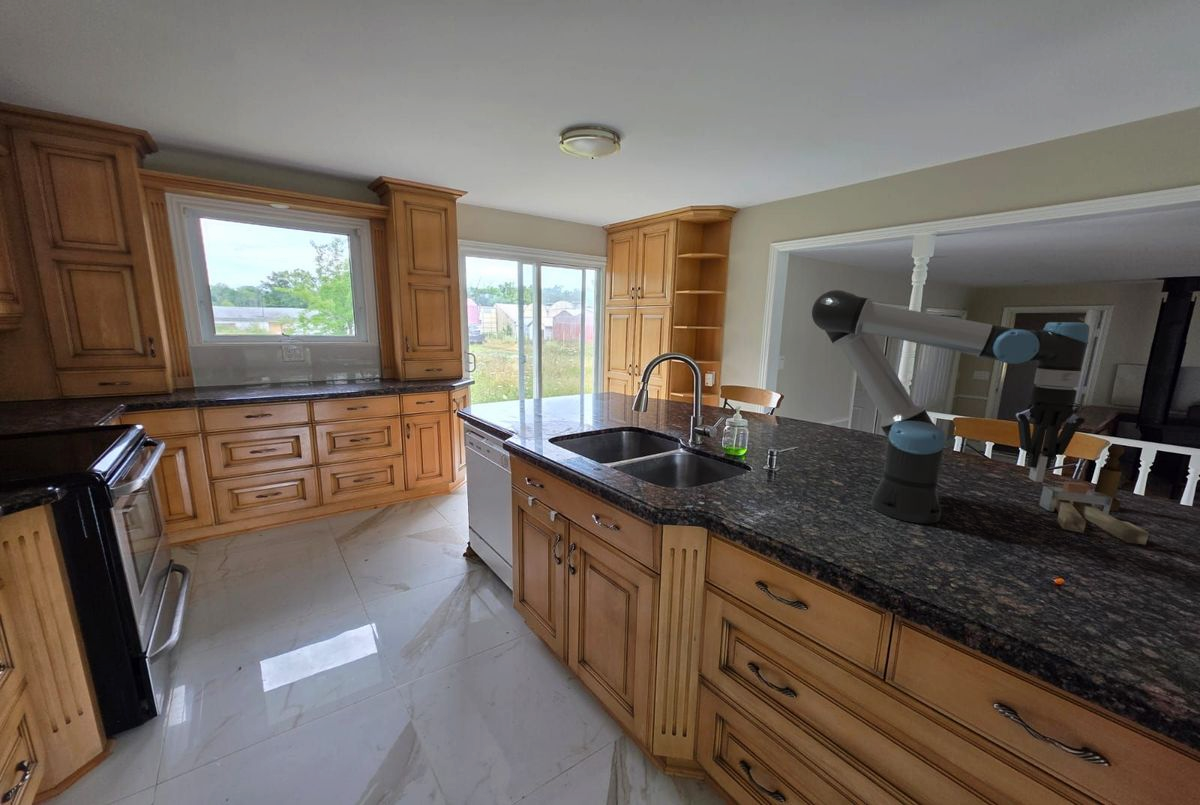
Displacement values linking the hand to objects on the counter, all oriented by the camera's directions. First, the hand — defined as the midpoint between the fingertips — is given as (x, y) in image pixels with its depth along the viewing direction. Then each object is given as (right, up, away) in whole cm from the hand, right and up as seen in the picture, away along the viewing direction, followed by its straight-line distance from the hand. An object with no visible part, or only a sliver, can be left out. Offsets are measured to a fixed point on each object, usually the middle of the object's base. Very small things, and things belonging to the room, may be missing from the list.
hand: (1035, 480), depth 111 cm
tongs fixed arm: (+19, -11, +4) cm, 22 cm away
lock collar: (+19, -10, +9) cm, 23 cm away
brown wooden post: (+33, -10, +14) cm, 37 cm away
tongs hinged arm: (+15, -11, +6) cm, 19 cm away
